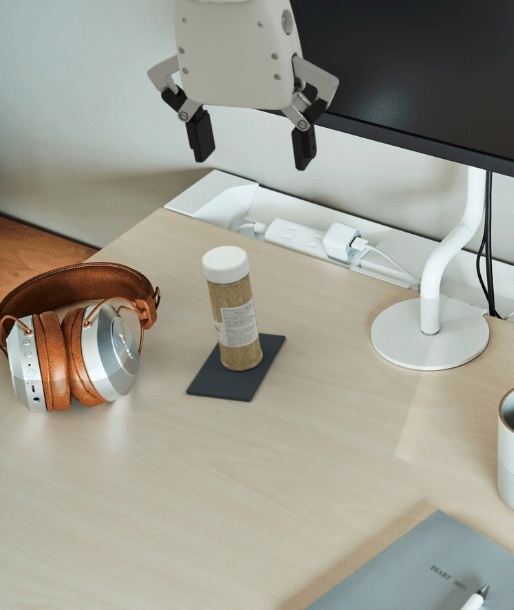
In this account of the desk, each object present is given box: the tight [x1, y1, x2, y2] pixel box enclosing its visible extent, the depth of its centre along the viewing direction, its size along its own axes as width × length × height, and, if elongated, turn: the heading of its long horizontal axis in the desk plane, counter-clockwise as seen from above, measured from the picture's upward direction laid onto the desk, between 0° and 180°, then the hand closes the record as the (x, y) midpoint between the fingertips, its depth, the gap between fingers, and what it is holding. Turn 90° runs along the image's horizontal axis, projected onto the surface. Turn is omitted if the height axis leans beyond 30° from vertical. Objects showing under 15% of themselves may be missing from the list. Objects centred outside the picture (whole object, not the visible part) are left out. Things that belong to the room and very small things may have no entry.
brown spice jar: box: [201, 245, 263, 371], centre depth 97 cm, size 5×5×14 cm
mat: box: [185, 332, 286, 403], centre depth 100 cm, size 7×11×1 cm, turn 170°
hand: (255, 160), depth 86 cm, fingers open, 9 cm apart
